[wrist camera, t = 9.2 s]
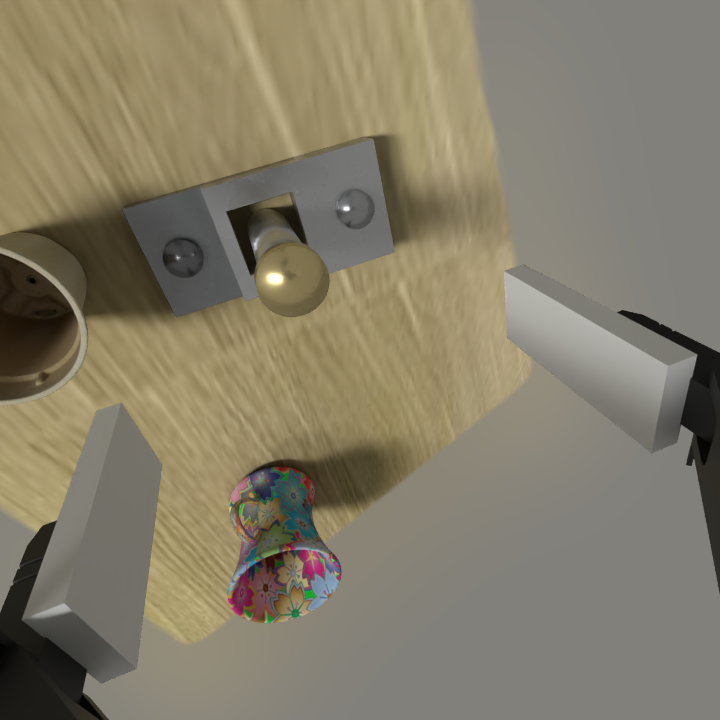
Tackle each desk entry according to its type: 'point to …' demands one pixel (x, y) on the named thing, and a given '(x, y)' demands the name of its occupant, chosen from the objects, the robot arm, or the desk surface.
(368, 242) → the grey slotted base plate
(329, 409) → the desk surface
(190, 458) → the desk surface
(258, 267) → the pin
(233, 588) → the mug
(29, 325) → the flower pot
